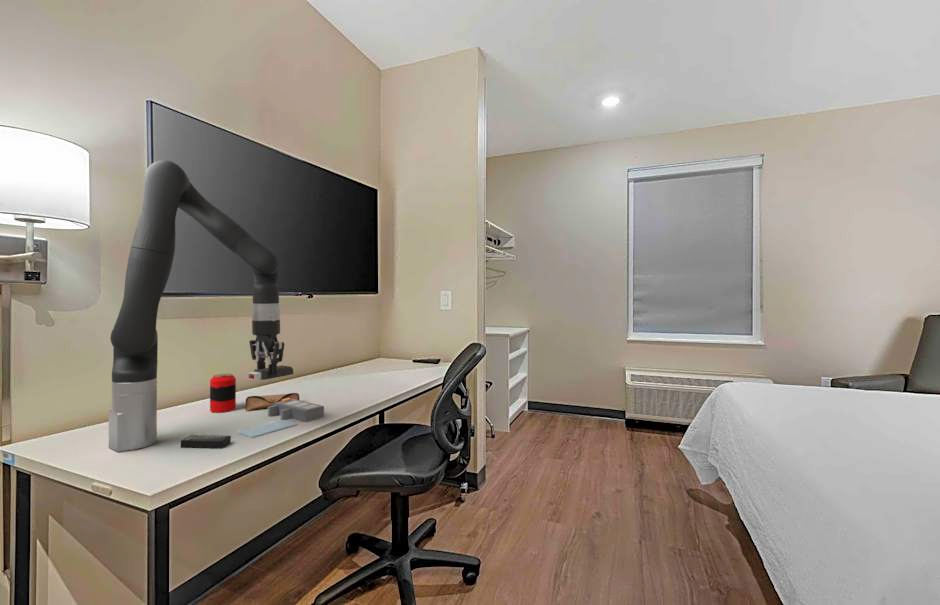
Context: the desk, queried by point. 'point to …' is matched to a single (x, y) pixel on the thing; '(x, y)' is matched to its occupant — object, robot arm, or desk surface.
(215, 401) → the soda can
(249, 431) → the silicone mat
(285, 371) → the usb drive
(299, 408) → the grey stepped block
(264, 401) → the sunglasses case
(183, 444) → the multiport hub
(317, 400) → the desk surface
